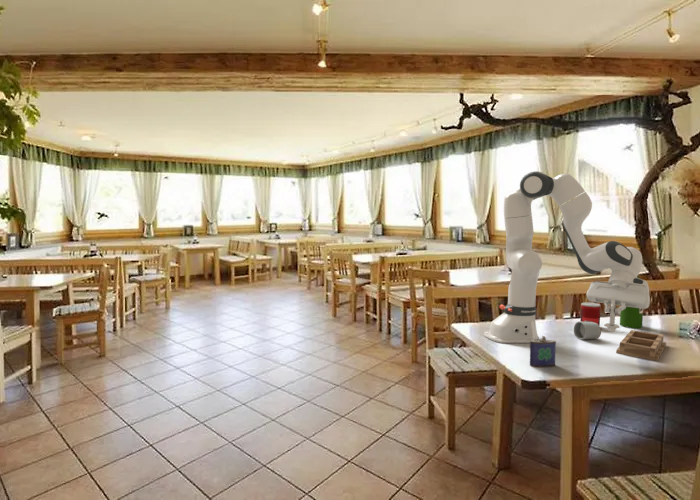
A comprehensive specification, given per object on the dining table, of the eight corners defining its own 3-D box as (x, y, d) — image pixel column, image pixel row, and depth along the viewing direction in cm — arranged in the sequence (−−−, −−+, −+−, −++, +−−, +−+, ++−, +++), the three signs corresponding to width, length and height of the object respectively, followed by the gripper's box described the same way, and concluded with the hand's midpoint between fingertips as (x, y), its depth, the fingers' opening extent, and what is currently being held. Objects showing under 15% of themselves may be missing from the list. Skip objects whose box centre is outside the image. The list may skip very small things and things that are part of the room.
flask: (552, 363, 148) (553, 334, 147) (557, 366, 145) (558, 336, 145) (528, 364, 148) (529, 335, 147) (532, 367, 145) (533, 337, 144)
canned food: (603, 328, 193) (604, 305, 192) (585, 328, 193) (586, 305, 192) (593, 324, 201) (594, 302, 200) (577, 324, 201) (578, 302, 200)
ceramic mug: (602, 340, 175) (603, 323, 174) (585, 341, 173) (585, 323, 173) (584, 334, 185) (585, 317, 185) (568, 335, 184) (568, 318, 183)
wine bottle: (641, 329, 192) (645, 260, 189) (618, 326, 197) (622, 258, 194) (642, 325, 199) (646, 258, 196) (620, 322, 204) (623, 257, 201)
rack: (657, 360, 151) (658, 349, 150) (616, 352, 159) (616, 342, 159) (666, 345, 168) (666, 335, 168) (628, 339, 177) (628, 329, 177)
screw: (613, 333, 151) (600, 330, 156) (622, 332, 153) (610, 328, 158) (615, 298, 150) (602, 296, 155) (624, 297, 152) (611, 295, 157)
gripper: (590, 275, 165) (580, 302, 160) (652, 281, 150) (643, 312, 144) (593, 285, 169) (583, 312, 163) (654, 292, 153) (645, 322, 148)
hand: (612, 312), depth 153 cm, fingers closed on screw, 2 cm apart
